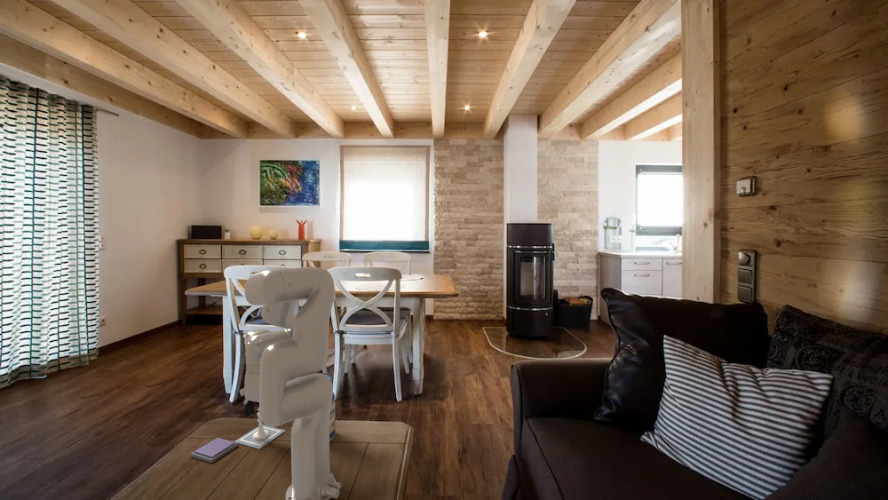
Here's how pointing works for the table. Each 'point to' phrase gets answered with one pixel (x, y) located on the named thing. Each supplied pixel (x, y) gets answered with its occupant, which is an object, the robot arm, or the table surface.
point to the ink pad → (214, 450)
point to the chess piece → (260, 429)
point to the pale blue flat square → (258, 444)
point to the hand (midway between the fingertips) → (261, 417)
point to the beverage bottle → (332, 416)
